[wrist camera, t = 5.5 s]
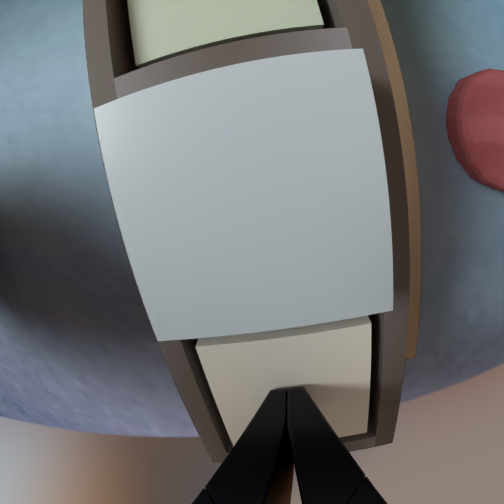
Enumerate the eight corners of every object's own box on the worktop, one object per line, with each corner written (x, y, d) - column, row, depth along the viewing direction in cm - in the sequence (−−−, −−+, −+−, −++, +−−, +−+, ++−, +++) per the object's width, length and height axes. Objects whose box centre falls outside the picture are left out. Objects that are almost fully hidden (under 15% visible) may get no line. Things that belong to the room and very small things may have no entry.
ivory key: (243, 384, 11) (233, 447, 8) (217, 290, 10) (195, 346, 7) (351, 370, 11) (366, 432, 8) (346, 271, 9) (371, 323, 7)
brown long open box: (190, 367, 14) (156, 458, 9) (103, -60, 8) (43, -110, 2) (404, 337, 13) (450, 425, 8) (315, -108, 6) (325, -180, 1)
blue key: (196, 274, 8) (157, 340, 5) (160, 118, 7) (93, 108, 4) (354, 250, 8) (392, 310, 5) (329, 84, 6) (363, 48, 3)
